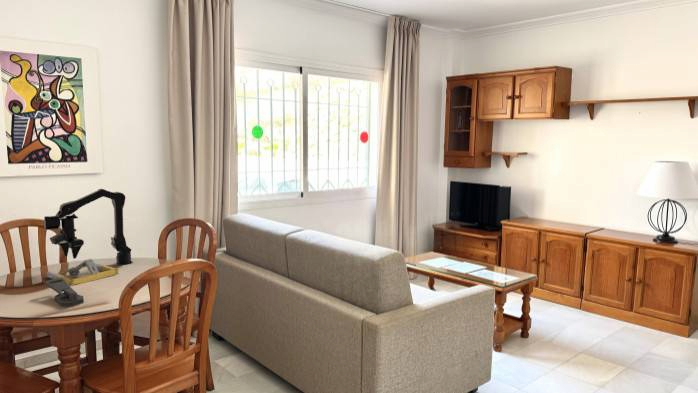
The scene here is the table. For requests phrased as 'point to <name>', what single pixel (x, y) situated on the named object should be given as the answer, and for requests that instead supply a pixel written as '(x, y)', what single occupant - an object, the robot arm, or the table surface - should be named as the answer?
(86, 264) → the bracket
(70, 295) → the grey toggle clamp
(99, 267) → the guide channel
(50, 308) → the table surface
